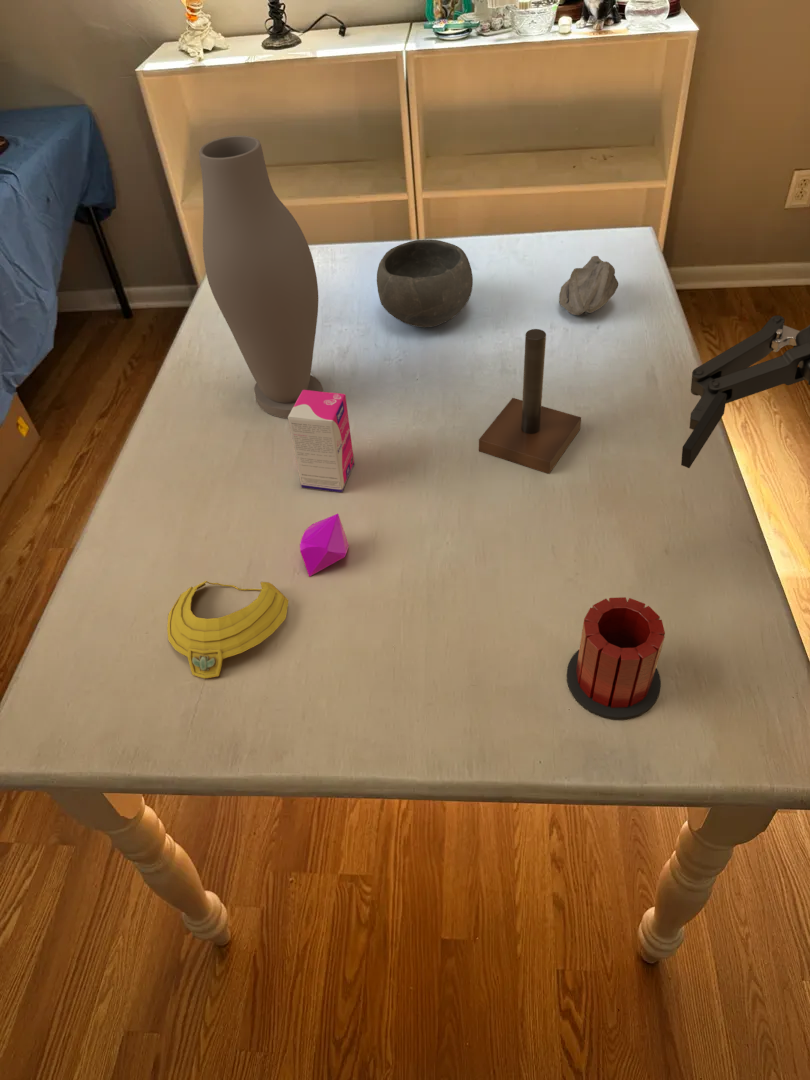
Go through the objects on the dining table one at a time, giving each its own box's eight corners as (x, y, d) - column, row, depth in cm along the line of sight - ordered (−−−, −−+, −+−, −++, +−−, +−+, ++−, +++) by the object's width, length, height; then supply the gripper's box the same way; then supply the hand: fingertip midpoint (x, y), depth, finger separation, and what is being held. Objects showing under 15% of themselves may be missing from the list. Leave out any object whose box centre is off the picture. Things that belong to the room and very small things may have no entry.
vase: (349, 384, 115) (312, 131, 90) (302, 436, 108) (246, 176, 82) (275, 365, 120) (219, 120, 95) (225, 414, 112) (150, 162, 87)
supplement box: (344, 493, 99) (331, 421, 91) (300, 488, 100) (283, 417, 92) (357, 463, 103) (345, 391, 95) (314, 459, 104) (299, 388, 96)
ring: (660, 664, 78) (675, 614, 72) (635, 719, 74) (648, 671, 68) (593, 636, 81) (601, 586, 75) (565, 688, 77) (572, 640, 71)
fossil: (555, 290, 129) (559, 243, 124) (611, 288, 128) (617, 241, 123) (560, 326, 122) (564, 279, 116) (619, 325, 121) (626, 277, 115)
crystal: (304, 544, 93) (297, 517, 90) (349, 539, 94) (344, 511, 90) (304, 577, 90) (298, 550, 86) (351, 571, 90) (346, 544, 87)
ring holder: (580, 429, 104) (592, 322, 93) (549, 474, 99) (557, 366, 87) (512, 409, 108) (515, 304, 97) (478, 451, 103) (478, 345, 91)
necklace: (149, 615, 88) (138, 591, 84) (247, 560, 92) (239, 535, 89) (202, 689, 80) (191, 666, 77) (304, 625, 85) (298, 600, 82)
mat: (672, 664, 78) (673, 661, 78) (641, 735, 73) (642, 732, 73) (587, 630, 82) (587, 627, 82) (551, 695, 77) (552, 692, 76)
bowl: (459, 346, 120) (457, 286, 113) (368, 336, 124) (361, 277, 117) (482, 297, 129) (482, 239, 122) (397, 289, 133) (392, 232, 126)
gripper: (738, 240, 72) (624, 407, 66) (1057, 315, 60) (952, 527, 54) (730, 301, 78) (625, 458, 72) (1017, 379, 66) (919, 575, 61)
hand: (765, 488), depth 63 cm, fingers open, 13 cm apart
